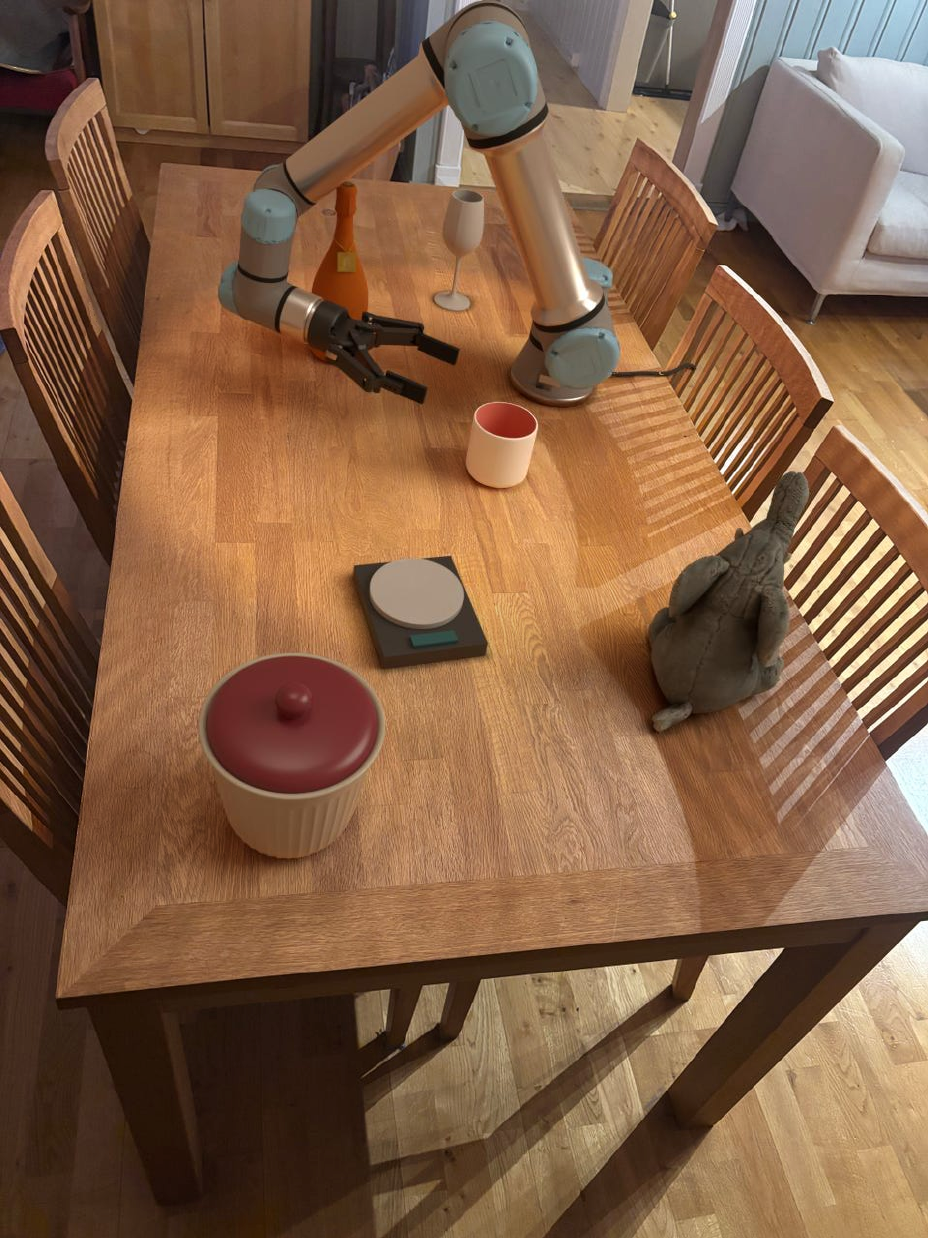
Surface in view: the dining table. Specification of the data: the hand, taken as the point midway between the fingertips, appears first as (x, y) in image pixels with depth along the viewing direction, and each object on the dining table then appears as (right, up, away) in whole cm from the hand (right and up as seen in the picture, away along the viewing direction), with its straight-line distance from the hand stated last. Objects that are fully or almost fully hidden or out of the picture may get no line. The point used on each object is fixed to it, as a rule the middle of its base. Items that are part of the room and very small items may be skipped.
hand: (442, 376), depth 147 cm
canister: (-16, -58, -40) cm, 72 cm away
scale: (-3, -36, -16) cm, 40 cm away
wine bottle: (-20, +11, +27) cm, 35 cm away
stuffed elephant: (+35, -45, -16) cm, 59 cm away
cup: (+8, -13, +9) cm, 18 cm away
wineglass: (+1, +26, +46) cm, 53 cm away
